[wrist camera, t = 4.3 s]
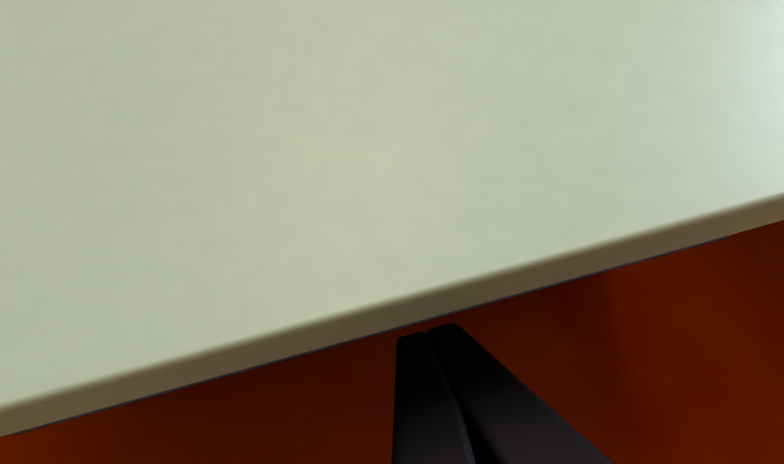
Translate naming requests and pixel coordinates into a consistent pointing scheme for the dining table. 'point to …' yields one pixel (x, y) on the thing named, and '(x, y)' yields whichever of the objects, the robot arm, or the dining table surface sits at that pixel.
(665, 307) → the dining table surface
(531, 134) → the lunchbox lid
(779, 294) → the dining table surface
